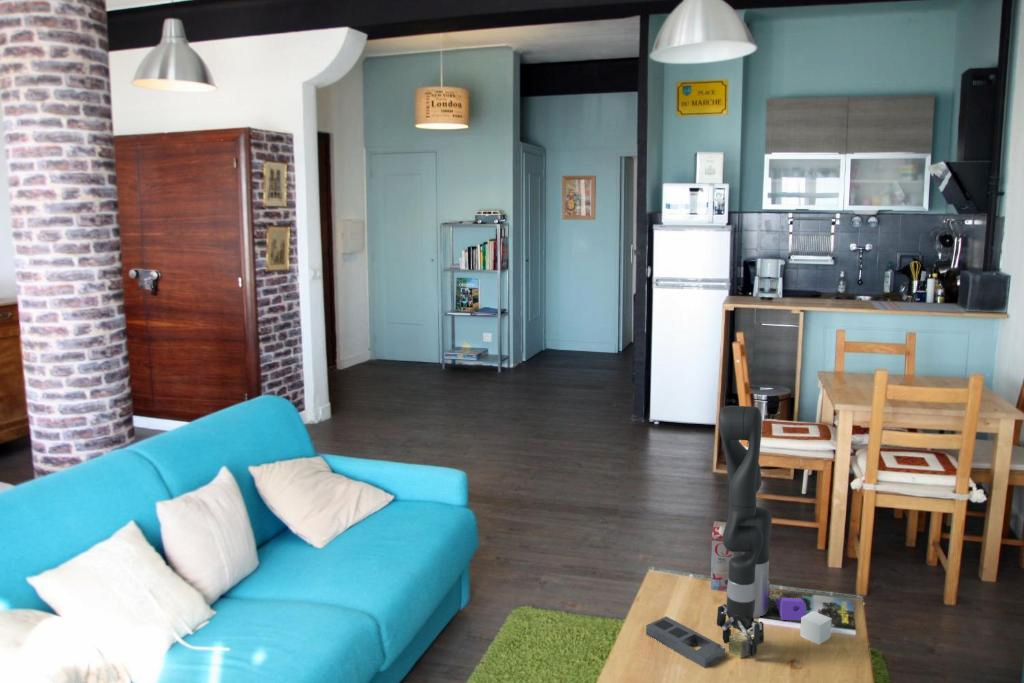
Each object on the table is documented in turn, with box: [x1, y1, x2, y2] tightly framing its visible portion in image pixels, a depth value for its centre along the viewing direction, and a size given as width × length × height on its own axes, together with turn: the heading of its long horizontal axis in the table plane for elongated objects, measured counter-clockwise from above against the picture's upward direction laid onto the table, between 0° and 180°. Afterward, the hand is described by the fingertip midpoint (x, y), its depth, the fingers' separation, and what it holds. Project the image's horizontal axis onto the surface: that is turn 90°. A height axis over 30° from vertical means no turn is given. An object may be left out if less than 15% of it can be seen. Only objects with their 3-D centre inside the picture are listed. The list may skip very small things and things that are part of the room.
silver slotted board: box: [645, 615, 726, 669], centre depth 240 cm, size 8×22×3 cm, turn 37°
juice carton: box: [710, 520, 736, 592], centre depth 274 cm, size 7×7×22 cm
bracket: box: [774, 597, 807, 621], centre depth 258 cm, size 12×7×7 cm, turn 172°
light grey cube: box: [800, 610, 833, 645], centre depth 243 cm, size 6×6×6 cm
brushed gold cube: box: [728, 631, 749, 660], centre depth 236 cm, size 4×5×5 cm
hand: (739, 648), depth 236 cm, fingers open, 8 cm apart
